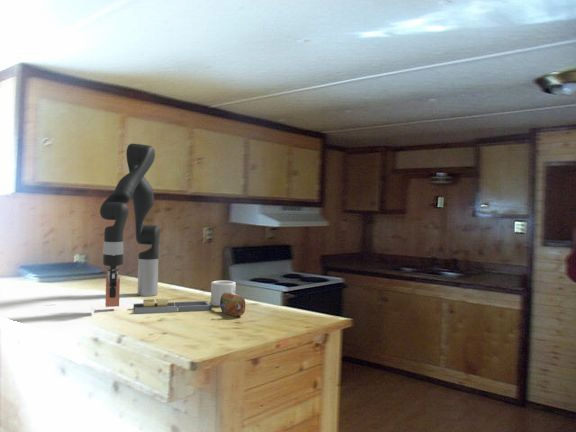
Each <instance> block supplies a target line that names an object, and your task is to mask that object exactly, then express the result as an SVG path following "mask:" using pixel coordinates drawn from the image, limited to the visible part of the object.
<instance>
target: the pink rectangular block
mask: <svg viewBox="0 0 576 432" xmlns="http://www.w3.org/2000/svg"><path fill="white" fill-rule="evenodd" d="M120 282H121V278H120V276H118V281H117V282H116V285H117V287H116V297H115V298H110V287H109V285H110V282H108V276H107V277H105V304H104V305H105V307H106V308H109V307H110V308H111V307H119V306H120V285H121V283H120ZM111 284H115V282H111Z"/></svg>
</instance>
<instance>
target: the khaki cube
mask: <svg viewBox="0 0 576 432" xmlns="http://www.w3.org/2000/svg"><path fill="white" fill-rule="evenodd" d="M168 302H169V301H168V299H167V298H159V299H155V303H156V307H160V306H168Z"/></svg>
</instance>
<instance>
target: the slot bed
mask: <svg viewBox="0 0 576 432" xmlns="http://www.w3.org/2000/svg"><path fill="white" fill-rule="evenodd" d="M132 306H133V307H132V308H133V311H134V314H135V315H139V314H141V315H142V314H159V313H160V314H162V313H163V314H165V313H179V312H178V307H177V306H175V302H174V301H170V302H169V301H168V306H160V307H156V302H155V307H143V302H140V303H133V305H132Z"/></svg>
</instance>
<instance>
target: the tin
mask: <svg viewBox="0 0 576 432" xmlns="http://www.w3.org/2000/svg"><path fill="white" fill-rule="evenodd" d="M220 310H221V312H222V313H223V314H225V315H228V316H232V317H241V316H243V315H244V314H245V311H246V299H245V298H244V297H243V295H241V294H236V293H235V294H233V293H224V294H223V295H222V296H221V299H220Z"/></svg>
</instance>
